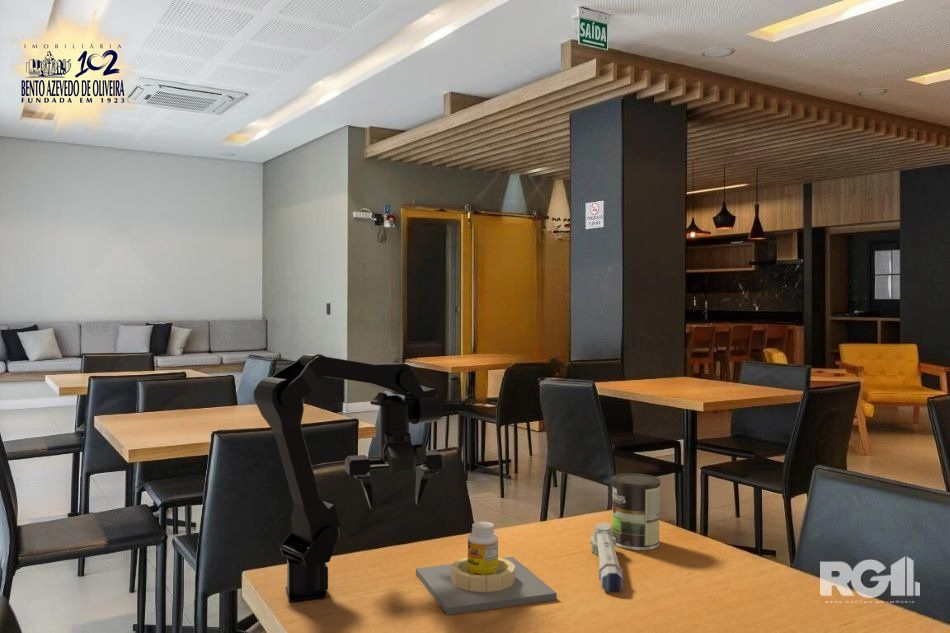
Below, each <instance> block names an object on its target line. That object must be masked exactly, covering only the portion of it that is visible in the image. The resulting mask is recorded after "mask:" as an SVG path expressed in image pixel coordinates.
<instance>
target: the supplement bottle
mask: <svg viewBox="0 0 950 633" xmlns="http://www.w3.org/2000/svg"><path fill="white" fill-rule="evenodd" d="M471 525H472V526H471V533H470V534H468V535H467V557H468V573H469V574H472V575H485V576H486V575H494V574H498V557H499V536H498V535H497V534H496V533H495V527H494V526H495V525H494V523H492V522H490V521H477V522H474V523H472V524H471Z"/></svg>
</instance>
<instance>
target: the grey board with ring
mask: <svg viewBox="0 0 950 633" xmlns="http://www.w3.org/2000/svg"><path fill="white" fill-rule="evenodd" d="M415 575H416V576H417V578H418V579H419V580H420V581H421V583H422V585H423V586H424V587H425V589H427V590H428V592H429V593H430V595H431V596H432V597H433V598H434V600H435V601H436V602H437V604H438V605H439V606H440V608H441V609H442V610H443V611H444V612H445V614H446V615H447V616H451V615H458V614H465V613H472V612H480V611H486V610H494V609H501V608H507V607H509V608H510V607H513V606H522V605H523V606H524V605H529V604H535V603H542V602H550V601H557V600H558V598H557V594H558V593H557V592H556V591H555V590H554V589H552V587H550V586H549V585H548V584H547V583H545V582H544V580H542V579H540V578H539V577H538V575H536V574H534V573H533V571H531V570H530V569H528V568H527V567H526V566H525V565H523V563H521V562H520V561H518V560H517V558H515V557H514V556H509V557H499V556H498V574H494V575H486V576H485V575H472V574H469V573H468V556H467V557H463V558H461V559H458V560H455V561H454V562H453V563H450V564H442V565H440V564H439V565H431V566H422V567H416V568H415Z"/></svg>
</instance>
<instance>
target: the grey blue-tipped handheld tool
mask: <svg viewBox="0 0 950 633" xmlns="http://www.w3.org/2000/svg"><path fill="white" fill-rule="evenodd" d="M593 529H594V530H593V534H591V536H590V537H589V543H590V545H591V553H592V554H595V556H597V557H598V563H599V567H598V580H599V581H600V583H601V589H602V590H604V591H605V592H607V593H619V592H620V591H621V590H623V588H624V574H623V573H624V570H623V568H622V567H620V562H619V559H618V556H617V553H616V549H615V547H616V539H615V537H613V536H612V525H610V523H607V522H603V521H601V522H598V523H596V524H595V526H594V528H593Z"/></svg>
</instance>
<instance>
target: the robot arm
mask: <svg viewBox="0 0 950 633" xmlns="http://www.w3.org/2000/svg"><path fill="white" fill-rule="evenodd" d="M322 377H325V378H331V379H337V380H338V379H339V380H345V381H346V380H347V381H353V382H360V383H363V384H366V385H367V386H370V387H372V388H374V389H377V390H379V391H383V392H378V393H377V395H376V396H375V397H373V399H371V400H370V405H371V406H377V407H378V406H379V410H380V411H379V426H380V427H379V458H369V457H368V456H367V455H365V454H359V455H358V454H357V455H356V454H355V455H347V457H346V458H345V460H344V471H345V472H346V473H347V474H348V476H352V477H354V478H355V480H359V482H360V484H361V486H362V489H363V491H364V495H365V498H366V500H367V502H368V503H367V504H368V506H369V508H370V509H371V510H373V509H374V497H373V496H374V495H373V486H372V479H373V476H372V475H371V474H370V472H371V470H374V469H375V470H376V469H390V470H389V471H390V472H392V473H395V474H398V473H401V472H409V473H412V472H415V491H414V493H415V495H414V496H415V504H416V505H417V506H419V505H420V503H421V500H422V497H423V495H424V492H425V488H426V487H427V484H428V482H429V481H430V478H431V477H432V476H433V475H435V474H438V473H439V470H444V469H445V457H444V456H443V455H442V454H441V453H440V452H438V451H437V450H436V449H435V450H427V447H426V445H425V443H416V444H412V437H411V433H410V424H412V425H420V424H426V423H433V422H438V421H440V420H441V419H442V417H443V415H444V412H445V411H444V410H445V409H444V405H443V401H442V400H441V398H440V396H439V395H438V394H437V393H438V392H437V388H432V387H431V388H424V389H423V388H422V386H421V383H419V381H418V380H417V378H416V376H415V372H414V370H413V367H412V366H411V365H410V364H407V363H400V362H389V361H383V362H380V361H379V362H371V363H370V362H369V363H367V362H366V363H365V362H359V361H355V360H349V359H342V358H337V357H330V356H325V355H323V354H320V353H305V354H303V355H301V356H300V357H299V358H297V360H295V361H294V362H292V363H291V364H289V365H287V366H285V367H283V368H281V369H279V370H277V372H275V373H274V374H273V375H271V376H269V377H265V378H263V379H261V380H260V381H259V382H258V383H257V384H256V387H255V389H254V390H253V398H254V399H253V400H254V402H255V404H256V406H257V408H258V411H259V413H260V415H261V417H262V418H263V419H264V420H265V422H266V423H267V424H268V426H269V427H270V428H271V431H273V434H274V438H275V442H276V446H277V449H278V452H279V457H280V460H281V463H282V465H283V471H284V474H285V477H286V480H287V484H288V488H289V492H290V495H291V498H292V503H293V507H292V510H291V511H292V512H291V516H290V524H291V530H290V531H289V533H288V534H287V535H286V536H285V538H284V540H283V541H282V542H281V543H280V545H279V549H280V552H281V555H282V557H285V558H287V559H286V563H287V564H286V573H287V574H286V586H285V592H286V595H288V596H287V599H289V600H288V601H289V602H290V601H292V602H299V601H298V600H300V601H306V600H316V599H323V598H324V599H325V598H327V596H328V594H327V591H328V590H329V567H328V565H327V564H328V563H330V561H331V558H332V555H333V552H334V548H335V546H336V543H337V541H338V539H339V538H340V529H339V527H342V523H340V521H339V519H338V513H337V507H336V506H335V505H334V504H332V503H329V502H327V501H324V500H322V498H321V495H320V492H319V487H318V485H317V481H316V476H315V472H314V468H313V466H312V462H311V458H310V453H309V450H308V448H307V447H308V446H307V444H306V440H305V436H304V432H303V429H302V420H303V415H304V411H305V407H304V398H305V397H306V396H307V395H309V394H310V393H311V392H312V391H313V390H314V388H315V386H316V384H317V383H318V381H319V380H320V379H322ZM385 392H390V393H391V394H392V395H388V394H387V393H385ZM401 396H404V398H403V397H401Z"/></svg>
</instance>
